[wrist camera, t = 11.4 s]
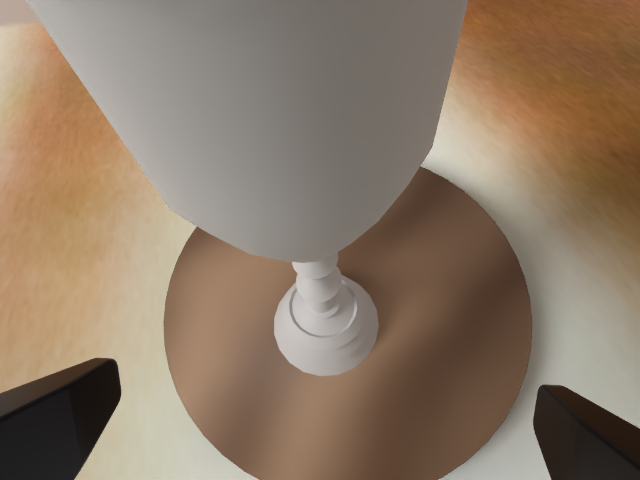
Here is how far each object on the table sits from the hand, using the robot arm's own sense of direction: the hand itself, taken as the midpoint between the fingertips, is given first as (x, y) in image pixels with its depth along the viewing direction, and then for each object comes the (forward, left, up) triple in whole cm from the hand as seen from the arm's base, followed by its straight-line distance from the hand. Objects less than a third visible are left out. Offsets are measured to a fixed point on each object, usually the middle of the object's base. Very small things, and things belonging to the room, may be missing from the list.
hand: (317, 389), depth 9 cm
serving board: (+3, -6, -11) cm, 13 cm away
